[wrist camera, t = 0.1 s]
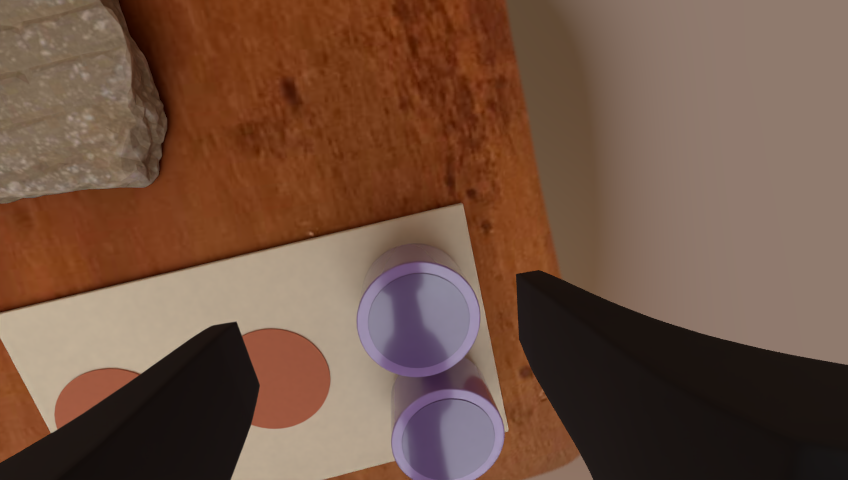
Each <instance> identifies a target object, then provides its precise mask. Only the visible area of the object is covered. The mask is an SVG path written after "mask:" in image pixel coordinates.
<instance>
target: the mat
mask: <svg viewBox="0 0 848 480" xmlns="http://www.w3.org/2000/svg"><path fill="white" fill-rule="evenodd" d="M413 243H418V244H426V245H430V246H433V247H436V248H438V249H440V250H442V251H444V252H445V253H447V254H448V255H449V256H450V257H451V258H452V259H453V260H454V261H455V262H456V263H457V264H458V266H459V268H460V269H461V271H462V273H463V274H464V276H465V277H466V279H467V281H468V282H469V284H470V286H471V287H472V289H473V290H474V292H475V294H476V297H477V299H478V303H479V306H480V327H479V331H478V335H477V337H476V340H475V342H474V344H473V346H472V347H471V349H470V350H469V352H468V353H467V354H466V355H465V356H464V357H465V358H467V359H468V360H470V361H472V362H473V363H474V364H475V365H476V366H477V367H478V368H479V369H480V371H481V372H482V374H483V376H484V378H485V380H486V382H487V385H488V387H489V389H490V392H491V394H492V396H493V399H494V401H495V403H496V406H497V408H498V410H499V413H500V415H501V417H502V420H503V424H504V430H505V432H507V431H509V430H508V425H507V420H506V415H505V410H504V405H503V400H502V395H501V390H500V385H499V380H498V375H497V370H496V365H495V360H494V355H493V350H492V345H491V340H490V336H489V331H488V326H487V321H486V316H485V311H484V306H483V301H482V296H481V291H480V286H479V281H478V276H477V271H476V266H475V261H474V256H473V251H472V246H471V242H470V237H469V232H468V227H467V222H466V217H465V212H464V207H463V204H462V203H459V204H454V205H450V206H446V207H442V208H438V209H433V210H429V211H425V212H421V213H417V214H412V215H408V216H404V217H400V218H396V219H391V220H387V221H383V222H379V223H375V224H370V225H366V226H362V227H358V228H354V229H349V230H345V231H341V232H337V233H332V234H328V235H324V236H320V237H316V238H311V239H307V240H303V241H299V242H295V243H290V244H286V245H282V246H278V247H274V248H269V249H265V250H261V251H257V252H253V253H248V254H244V255H240V256H236V257H232V258H227V259H223V260H219V261H215V262H211V263H206V264H202V265H198V266H194V267H189V268H185V269H181V270H177V271H173V272H168V273H164V274H160V275H156V276H152V277H147V278H143V279H139V280H135V281H131V282H126V283H122V284H118V285H114V286H110V287H105V288H101V289H97V290H93V291H89V292H84V293H80V294H76V295H72V296H68V297H63V298H59V299H55V300H51V301H46V302H42V303H38V304H34V305H30V306H25V307H21V308H17V309H13V310H9V311H4V312H0V338H1V340H2V342H3V344H4V346H5V347H6V349H7V351H8V353H9V355H10V357H11V359H12V361H13V362H14V364H15V366H16V368H17V370H18V372H19V374H20V376H21V378H22V379H23V381H24V383H25V385H26V387H27V389H28V391H29V393H30V394H31V396H32V398H33V400H34V402H35V404H36V406H37V408H38V410H39V411H40V413H41V415H42V417H43V419H44V421H45V423H46V425H47V426H48V428H49V430H50V432H51V433H53V432H54V431H56V430H57V429H59V428H61V427H62V426H64V425H65V424H67V423H69V422H70V421H72V420H73V419H75V418H77V417H78V416H80V415H81V414H83V413H84V412H86V411H87V410H89V409H90V408H92V407H93V406H95V405H96V404H98V403H99V402H101V401H102V400H104V399H105V398H107V397H108V396H109V395H111V394H112V393H114V392H115V391H117V390H118V389H120V388H121V387H123V386H124V385H126V384H127V383H129V382H130V381H132V380H133V379H134V378H136V377H137V376H139V375H140V374H142V373H143V372H144V371H146V370H147V369H149V368H150V367H151V366H153V365H154V364H156V363H157V362H158V361H160V360H161V359H163V358H164V357H165V356H167V355H168V354H170V353H171V352H172V351H174V350H175V349H177V348H178V347H179V346H181V345H182V344H184V343H185V342H186V341H188V340H189V339H191V338H192V337H194V336H195V335H197V334H198V333H200V332H202V331H203V330H205V329H207V328H209V327H210V326H212V325H218V324H224V323H230V322H236V321H237V324H238V327H239V329H240V332H241V335H242V337H243V340H244V343H245V346H246V348H247V351H248V354H249V357H250V359H251V362H252V365H253V367H254V370H255V373H256V376H257V378H258V381H259V384H260V388H259V393H258V398H257V403H256V407H255V412H254V416H253V420H252V424H251V427H250V429H249V432H248V435H247V438H246V440H245V443H244V446H243V449H242V451H241V454H240V457H239V459H238V462H237V465H236V467H235V470H234V473H233V475H232V478H231V480H323V479H327V478H331V477H335V476H339V475H342V474H346V473H350V472H354V471H358V470H362V469H366V468H369V467H373V466H377V465H381V464H385V463H389V462H392V461H395V459H394V456H393V453H392V448H391V391H392V387H393V384H394V382H395V380H396V378H397V376H398V374H395V373H392V372H390V371H388V370H386V369H384V368H383V367H381V366H380V365H378V364H377V363H376V362H375V361H374V360H373V359H372V358H371V357H370V356H369V355H368V354H367V352H366V351H365V349H364V348H363V346H362V344H361V341H360V339H359V336H358V331H357V322H356V320H357V311H358V305H359V300H360V295H361V290H362V285H363V281H364V278H365V275H366V273H367V271H368V269H369V268H370V266H371V265H372V264H373V262H374V261H375V260H376V259H377V258H378V257H380V256H381V255H382V254H383V253H385V252H386V251H388V250H390V249H392V248H394V247H397V246H400V245H404V244H413Z"/></svg>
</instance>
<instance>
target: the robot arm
mask: <svg viewBox="0 0 848 480" xmlns="http://www.w3.org/2000/svg"><path fill="white" fill-rule="evenodd" d="M516 282H517V304H518V325H519V340H520V343H521V345H522V347H523V350H524V352H525V355H526V357H527V360H528V362H529V364H530V367H531V369H532V371H533V373H534V375H535V377H536V378H537V380H538V382H539V384H540V385H541V387H542V389H543V391H544V392H545V394H546V396H547V397H548V399H549V401H550V403H551V404H552V406H553V408H554V409H555V411H556V413H557V414H558V416H559V418H560V420H561V421H562V423H563V425H564V426H565V428H566V430H567V431H568V433H569V435H570V436H571V438H572V440H573V442H574V443H575V445H576V447H577V448H578V450H579V452H580V454H581V456H582V458H583V460H584V461H585V463H586V465H587V467H588V469H589V471H590V473H591V475H592V478H593V480H848V365H844V364H838V363H833V362H828V361H822V360H816V359H811V358H805V357H800V356H794V355H789V354H784V353H780V352H775V351H770V350H765V349H761V348H756V347H753V346H748V345H744V344H740V343H736V342H732V341H728V340H723V339H720V338H716V337H712V336H708V335H705V334H701V333H698V332H695V331H691V330H688V329H685V328H682V327H678V326H675V325H672V324H669V323H666V322H663V321H660V320H657V319H654V318H651V317H648V316H646V315H643V314H641V313H638V312H635V311H633V310H630V309H628V308H625V307H622V306H620V305H617V304H615V303H612V302H610V301H608V300H606V299H603V298H601V297H599V296H596V295H594V294H592V293H589V292H588V291H585V290H583V289H581V288H579V287H577V286H574V285H572V284H570V283H568V282H566V281H564V280H561V279H559V278H557V277H555V276H553V275H550V274H548V273H545V272H543V271H540V270H537V271H532V272H526V273H520V274H516ZM259 388H260V384H259V381H258V378H257V376H256V373H255V370H254V367H253V365H252V362H251V359H250V357H249V354H248V351H247V348H246V346H245V343H244V340H243V337H242V335H241V332H240V329H239V327H238V324H237V321H236V322H230V323H224V324H218V325H212V326H210V327H209V328H207V329H205V330H203V331H202V332H200V333H198V334H197V335H195V336H194V337H192V338H191V339H189V340H188V341H186V342H185V343H184V344H182V345H181V346H179V347H178V348H177V349H175V350H174V351H172V352H171V353H170V354H168V355H167V356H165V357H164V358H163V359H161V360H160V361H158V362H157V363H156V364H154V365H153V366H151V367H150V368H149V369H147V370H146V371H144V372H143V373H142V374H140V375H139V376H137V377H136V378H134V379H133V380H132V381H130V382H129V383H127V384H126V385H124V386H123V387H121V388H120V389H118V390H117V391H115V392H114V393H112V394H111V395H109V396H108V397H107V398H105V399H104V400H102V401H101V402H99V403H98V404H96V405H95V406H93V407H92V408H90V409H89V410H87V411H86V412H84V413H83V414H81V415H80V416H78V417H77V418H75V419H73V420H72V421H70V422H69V423H67V424H65V425H64V426H62V427H61V428H59V429H57V430H56V431H54V432H53V433H51V434H49V435H47V436H46V437H44V438H42V439H41V440H39V441H37V442H36V443H34V444H32V445H31V446H29V447H27V448H26V449H24V450H22V451H21V452H19V453H17V454H15V455H14V456H12V457H10V458H8V459H7V460H5V461H3V462H1V463H0V480H231V478H232V475H233V473H234V470H235V467H236V465H237V462H238V459H239V457H240V454H241V451H242V449H243V446H244V443H245V440H246V438H247V435H248V432H249V429H250V427H251V424H252V420H253V416H254V412H255V407H256V403H257V398H258V393H259Z"/></svg>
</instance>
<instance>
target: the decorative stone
mask: <svg viewBox="0 0 848 480" xmlns="http://www.w3.org/2000/svg"><path fill="white" fill-rule="evenodd" d="M163 107H164V105H163V104H162V102H161V100H160V99H159V94H158V91H157V89H156V87H155V85H154V81H153V77H152V74H151V71H150V69H149V66H148V63H147V60H146V58H145V56H144V54H143V53H142V52H141V51H140V50H139V48H138V46H137V44H136V43H135V41H134V40H133V39H132V38H131V36H130V34H129V32H128V28H127V25H126V21H125V18H124V16H123V13H122V11H121V7H120V4H119V0H0V203H10V202H14V201H16V200H19V199H21V198H35V197H39V196H43V195H51V194H61V193H66V192H72V191H77V190H85V189H108V188H119V187H123V188H124V187H136V188H140V187H147V186H148V185H150V184H152V183H153V182H154V180H155V179H156V178H157V176H158V175H159V160H160V159H161V157H162V149H161V143H162V142H163V141H164V136H165V133H166V131H167V118H166V115H165V112H164V110H163Z"/></svg>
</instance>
